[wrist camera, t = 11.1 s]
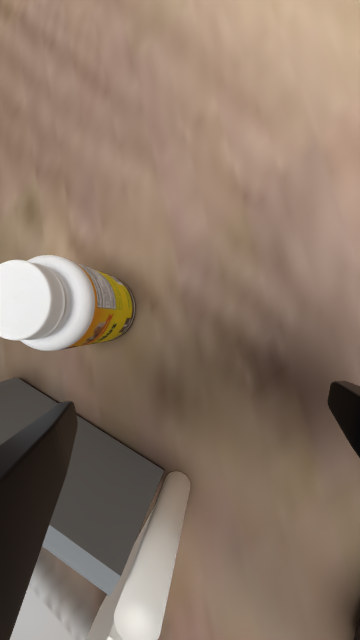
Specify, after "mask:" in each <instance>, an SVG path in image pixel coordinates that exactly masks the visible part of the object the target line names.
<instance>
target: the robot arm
mask: <svg viewBox="0 0 360 640" xmlns="http://www.w3.org/2000/svg"><path fill="white" fill-rule="evenodd" d="M328 406H329V409H330V410H331V412H332V414H333V415H334V417H335V419H336V421H337V422H338V424H339V426H340V428H341V429H342V431H343V433H344V434H345V436H346V438H347V440H348V441H349V443H350V444H351V446H352V448H353V449H354V451H355V452H356V454H357V455H358V456H359V458H360V386H357V385H355V384H352V383H349V382H347V381H334V382H332V383H331V386H330V391H329V396H328ZM77 428H78V420H77V416H76V411H75V406H74V403H73V402H72V401H68V402H60V403H58V404H57V405H55V406H54V407H52V408H51V409H50V410H48V411H47V412H45V413H44V414H43V415H41V416H40V417H39V418H37V419H36V420H34V421H33V422H32V423H30V424H29V425H27V426H26V427H25V428H23V429H22V430H20V431H19V432H18V433H16V434H15V435H13V436H12V437H11V438H9V439H8V440H6V441H5V442H4V443H2V444H1V445H0V640H10V637H11V634H12V631H13V628H14V625H15V623H16V620H17V617H18V614H19V611H20V608H21V605H22V602H23V599H24V596H25V594H26V590H27V588H28V585H29V582H30V579H31V576H32V573H33V571H34V568H35V565H36V562H37V559H38V556H39V553H40V550H41V547H42V545H43V542H44V539H45V536H46V533H47V530H48V527H49V524H50V521H51V519H52V516H53V513H54V510H55V507H56V504H57V501H58V498H59V495H60V493H61V490H62V487H63V484H64V481H65V478H66V475H67V471H68V467H69V463H70V459H71V454H72V450H73V446H74V441H75V437H76V433H77ZM355 640H360V619H359V623H358V627H357V631H356V635H355Z"/></svg>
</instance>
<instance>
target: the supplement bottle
mask: <svg viewBox="0 0 360 640" xmlns="http://www.w3.org/2000/svg"><path fill="white" fill-rule="evenodd" d="M134 314H135V303H134V299H133V296H132V293H131V292H130V290H129V289H128V287H127V286H126V285H125V284H124V283H123V282H121V281H120V280H118V279H116V278H114V277H112V276H109V275H107V274H104V273H102V272H99V271H97V270H94V269H92V268H89V267H87V266H84V265H81V264H79V263H76V262H74V261H71V260H69V259H66V258H63V257H59V256H54V255H43V256H38V257H35V258H32V259H30V260H28V261H23V260H11V261H7V262H4V263H2V264H0V337H3V338H5V339H9V340H20V341H21V342H23V343H24V344H26V345H28V346H29V347H32V348H34V349H38V350H44V351H53V350H62V349H66V348H72V347H78V346H83V345H89V344H94V343H99V342H105V341H110V340H113V339H116V338H118V337H119V336H121V335H122V334H123V333H125V332H126V330H127V329H128V328H129V327H130V325H131V323H132V321H133V318H134Z"/></svg>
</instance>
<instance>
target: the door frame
mask: <svg viewBox="0 0 360 640" xmlns="http://www.w3.org/2000/svg"><path fill="white" fill-rule="evenodd" d="M189 492H190V481H189V479H188V477H187V476H186V475H185V474H184V473H182V472H179V471H173V472H170V473H169V474H168V475H167V476H166V478H165V480H164V483H163V485H162V488H161V491H160V493H159V496H158V499H157V501H156V504H155V506H154V508H153V510H152V512H151V513H150V515H149V517H148V519H147V521H146V523H145V525H144V526H143V528H142V530H141V532H140V534H139V536H138V538H137V539H136V541H135V543H134V546H133V548H132V550H131V553H130V555H129V558H128V560H127V563H126V565H125V568H124V570H123V573H122V575H121V577H120V579H119V581H118V583H117V585H116V587H115V588H114V590H113V592H112V594H111V596H109V595H106V597H105V599H104V601H103V603H102V605H101V606H100V608H99V611H98V613H97V615H96V618H95V620H94V622H93V624H92V627H91V629H90V631H89V634H88V636H87V638H86V640H157V639H158V638H159V635H160V632H161V627H162V622H163V617H164V612H165V608H166V603H167V598H168V593H169V588H170V583H171V579H172V574H173V569H174V564H175V559H176V555H177V550H178V545H179V540H180V535H181V530H182V526H183V521H184V516H185V511H186V506H187V502H188V497H189Z"/></svg>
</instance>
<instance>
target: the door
mask: <svg viewBox="0 0 360 640" xmlns="http://www.w3.org/2000/svg"><path fill="white" fill-rule="evenodd" d="M57 404H58V403H57V402H55V401H53V400H52V399H50V398H49V397H47V396H46V395H44V394H42V393H41V392H39V391H38V390H36V389H34V388H33V387H31V386H30V385H28V384H27V383H25V382H23V381H22V380H20V379H19V378H13V379H9V380H6V381H2V382H0V445H1V444H2V443H4V442H5V441H6V440H8V439H9V438H11V437H12V436H13V435H15V434H16V433H18V432H19V431H20V430H22V429H23V428H25V427H26V426H27V425H29V424H30V423H32V422H33V421H34V420H36V419H37V418H39V417H40V416H41V415H43V414H44V413H45V412H47V411H48V410H50V409H51V408H52V407H54V406H55V405H57ZM76 416H77V415H76ZM77 420H78V428H77V433H76V437H75V441H74V446H73V450H72V454H71V459H70V463H69V467H68V471H67V475H66V478H65V481H64V484H63V487H62V490H61V493H60V495H59V498H58V501H57V504H56V507H55V510H54V513H53V516H52V519H51V521H50V524H49V527H48V530H47V533H46V536H45V539H44V542H43V545H42V546H43V547H44V548H46V549H47V550H48V551H50V552H51V553H52V554H54V555H55V556H56V557H58V558H59V559H60V560H62V561H63V562H65V563H66V564H67V565H69V566H70V567H71V568H73V569H74V570H75V571H77V572H78V573H79V574H81V575H82V576H83V577H85V578H86V579H87V580H89V581H90V582H91V583H93V584H94V585H95V586H97V587H98V588H99V589H101V590H102V591H103V592H105V593H106V594H107V595H109V596H111V594H112V592H113V590H114V588H115V587H116V585H117V583H118V581H119V579H120V577H121V575H122V573H123V570H124V568H125V565H126V563H127V560H128V558H129V555H130V553H131V550H132V548H133V546H134V543H135V541H136V538H137V536H138V533H139V531H140V528H141V526H142V523H143V521H144V518H145V516H146V514H147V511H148V509H149V506H150V504H151V501H152V499H153V496H154V494H155V491H156V489H157V487H158V484H159V482H160V479H161V477H162V474H163V472H164V470H162V469H161V468H159V467H158V466H156V465H154V464H153V463H151V462H150V461H148V460H147V459H145V458H143V457H142V456H140V455H139V454H137V453H136V452H134V451H132V450H131V449H129V448H128V447H126V446H124V445H123V444H121V443H120V442H118V441H117V440H115V439H113V438H112V437H110V436H109V435H107V434H106V433H104V432H102V431H101V430H99V429H98V428H96V427H94V426H93V425H91V424H90V423H88V422H87V421H85V420H83V419H82V418H80V417H79V416H77Z"/></svg>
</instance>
